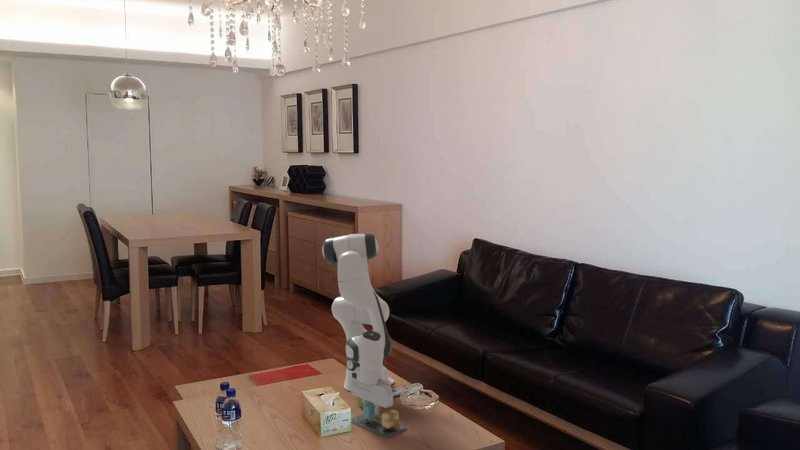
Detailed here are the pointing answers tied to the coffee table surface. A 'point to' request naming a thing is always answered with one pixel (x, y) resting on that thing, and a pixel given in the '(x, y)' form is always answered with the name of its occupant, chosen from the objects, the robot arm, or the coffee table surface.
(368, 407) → the block
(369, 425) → the steel plate
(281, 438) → the coffee table surface
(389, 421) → the wooden mallet
